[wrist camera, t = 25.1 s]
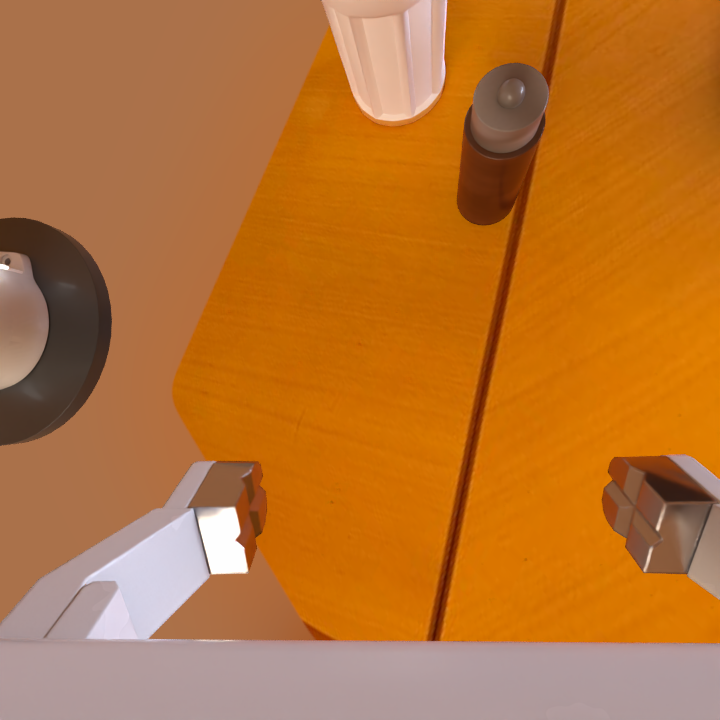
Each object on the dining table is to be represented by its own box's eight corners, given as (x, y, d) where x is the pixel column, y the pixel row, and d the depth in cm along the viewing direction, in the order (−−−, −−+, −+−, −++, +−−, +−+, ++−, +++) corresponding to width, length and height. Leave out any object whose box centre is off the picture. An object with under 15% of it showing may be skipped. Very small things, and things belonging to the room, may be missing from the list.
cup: (451, 137, 39) (461, -60, 22) (337, 138, 41) (266, -39, 24) (462, 25, 40) (480, -250, 23) (349, 33, 42) (288, -213, 25)
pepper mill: (465, 232, 38) (481, 139, 24) (450, 182, 39) (457, 62, 25) (521, 215, 37) (572, 108, 23) (505, 163, 38) (545, 29, 24)
